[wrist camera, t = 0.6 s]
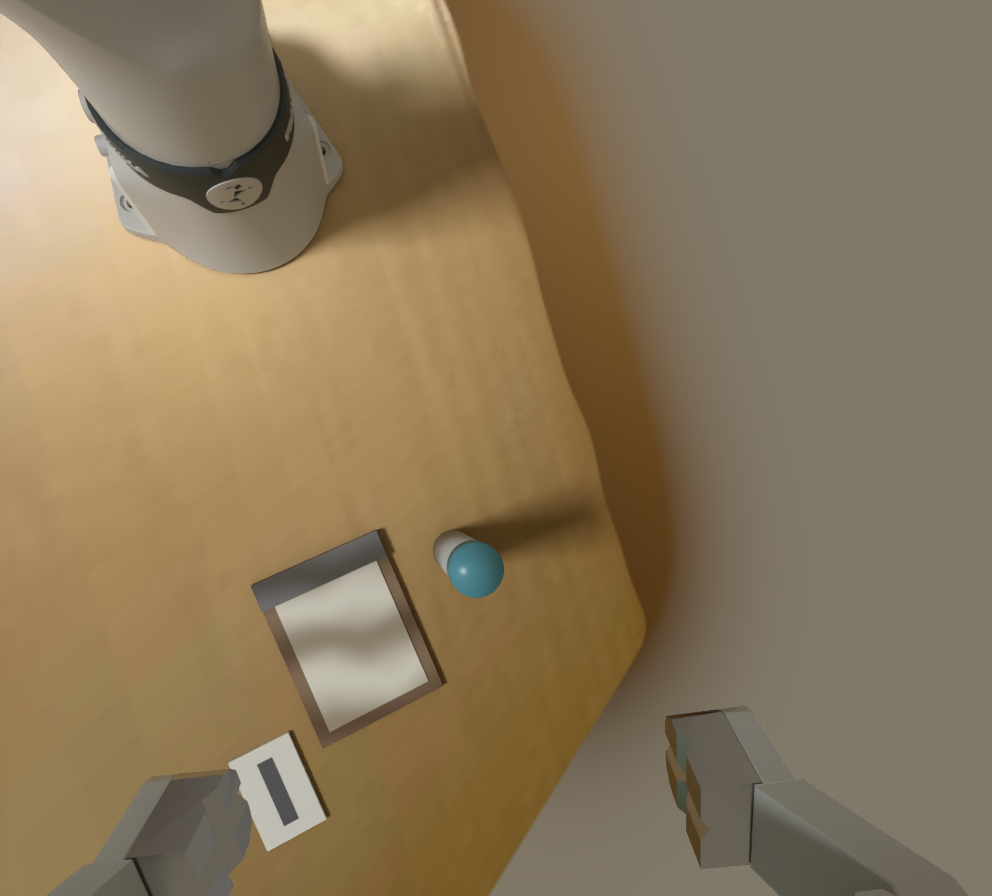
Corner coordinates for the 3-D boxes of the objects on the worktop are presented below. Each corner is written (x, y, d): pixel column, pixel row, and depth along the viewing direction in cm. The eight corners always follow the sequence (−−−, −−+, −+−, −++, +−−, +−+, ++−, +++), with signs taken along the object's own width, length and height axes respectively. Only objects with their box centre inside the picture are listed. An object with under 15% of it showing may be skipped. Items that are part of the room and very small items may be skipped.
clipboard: (252, 584, 48) (250, 585, 47) (376, 529, 50) (376, 530, 49) (323, 746, 48) (322, 749, 47) (442, 684, 51) (443, 686, 50)
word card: (228, 761, 46) (227, 763, 46) (288, 731, 48) (287, 732, 47) (268, 849, 47) (267, 852, 46) (326, 817, 48) (326, 819, 47)
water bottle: (425, 539, 51) (442, 557, 39) (463, 522, 52) (491, 534, 40) (441, 578, 51) (463, 607, 39) (479, 560, 52) (512, 583, 40)
